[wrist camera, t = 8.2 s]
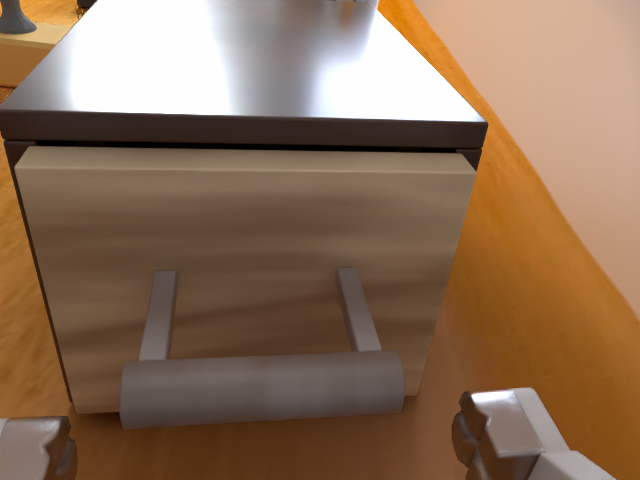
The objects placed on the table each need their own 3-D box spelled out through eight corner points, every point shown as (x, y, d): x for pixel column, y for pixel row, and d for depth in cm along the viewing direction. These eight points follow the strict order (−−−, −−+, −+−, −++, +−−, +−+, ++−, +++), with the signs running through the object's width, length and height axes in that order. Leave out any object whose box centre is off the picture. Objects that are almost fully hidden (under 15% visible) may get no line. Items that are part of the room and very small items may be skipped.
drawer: (464, 527, 16) (567, 284, 11) (32, 569, 14) (-80, 299, 9) (345, 193, 31) (366, 32, 26) (136, 191, 29) (116, 18, 25)
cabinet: (419, 385, 21) (490, 123, 15) (69, 404, 19) (-7, 109, 13) (347, 187, 34) (370, 2, 28) (132, 185, 32) (108, -14, 26)
